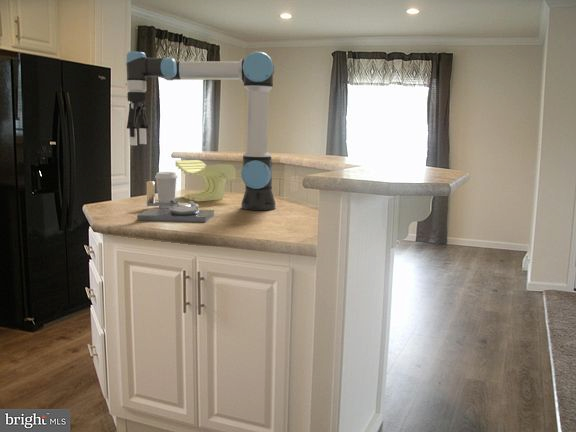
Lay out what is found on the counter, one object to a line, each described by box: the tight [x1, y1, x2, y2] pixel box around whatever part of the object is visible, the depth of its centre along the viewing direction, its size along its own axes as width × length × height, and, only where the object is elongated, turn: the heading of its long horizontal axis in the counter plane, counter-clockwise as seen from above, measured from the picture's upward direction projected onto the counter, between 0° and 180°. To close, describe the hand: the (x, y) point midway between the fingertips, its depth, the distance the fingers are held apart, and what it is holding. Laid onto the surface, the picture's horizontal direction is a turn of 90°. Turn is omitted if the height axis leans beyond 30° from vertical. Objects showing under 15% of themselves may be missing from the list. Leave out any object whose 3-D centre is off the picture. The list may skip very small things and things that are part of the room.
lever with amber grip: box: [146, 180, 200, 215], centre depth 211 cm, size 20×11×12 cm, turn 107°
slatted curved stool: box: [175, 159, 237, 202], centre depth 267 cm, size 30×16×18 cm, turn 39°
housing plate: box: [136, 208, 215, 223], centre depth 214 cm, size 26×17×2 cm, turn 87°
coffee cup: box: [154, 171, 178, 209], centre depth 238 cm, size 10×10×15 cm
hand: (138, 144), depth 225 cm, fingers open, 13 cm apart
